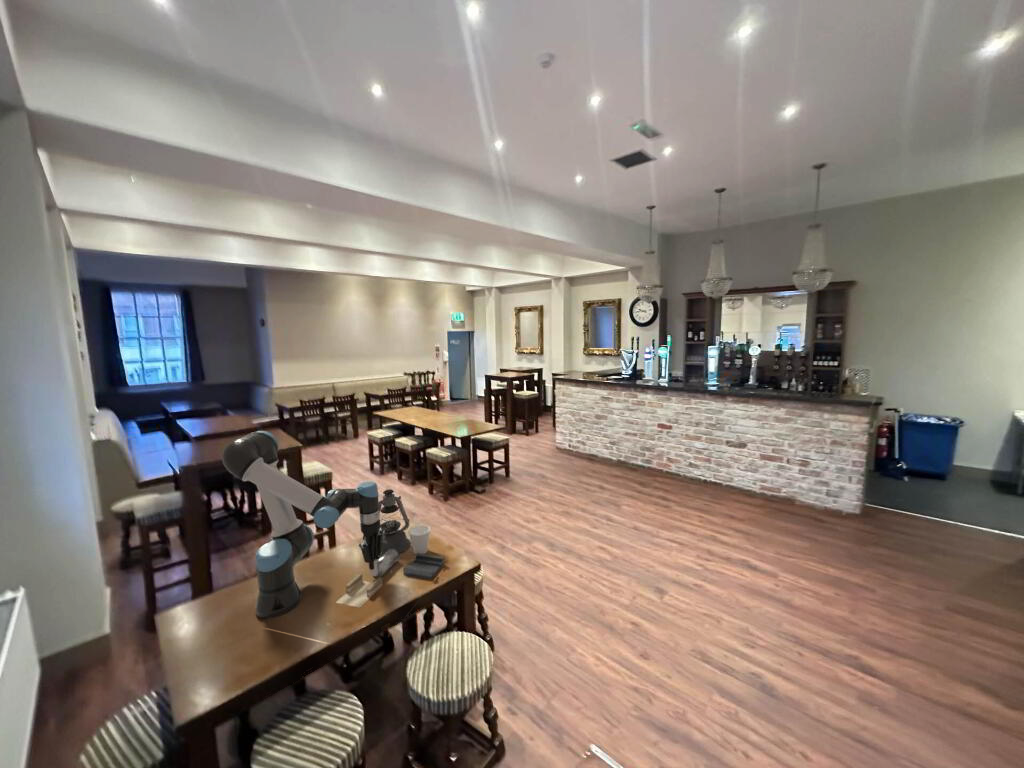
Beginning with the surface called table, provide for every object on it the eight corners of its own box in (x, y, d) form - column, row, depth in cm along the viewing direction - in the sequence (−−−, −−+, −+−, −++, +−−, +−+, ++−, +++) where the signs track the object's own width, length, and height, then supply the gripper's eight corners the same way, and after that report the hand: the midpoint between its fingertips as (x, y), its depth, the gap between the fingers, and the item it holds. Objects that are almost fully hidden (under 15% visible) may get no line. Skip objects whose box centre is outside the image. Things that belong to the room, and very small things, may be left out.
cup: (426, 559, 181) (425, 536, 179) (405, 557, 183) (404, 534, 181) (434, 547, 190) (433, 525, 189) (415, 545, 192) (413, 523, 191)
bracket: (335, 603, 152) (334, 595, 152) (359, 581, 166) (358, 573, 165) (360, 608, 149) (359, 600, 149) (382, 585, 162) (382, 577, 162)
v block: (403, 575, 169) (403, 567, 169) (417, 560, 180) (417, 553, 179) (431, 580, 165) (431, 572, 165) (444, 564, 176) (443, 557, 176)
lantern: (393, 531, 206) (389, 475, 202) (419, 543, 194) (416, 483, 190) (362, 547, 192) (357, 487, 188) (388, 560, 180) (383, 497, 176)
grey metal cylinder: (371, 576, 169) (370, 563, 168) (387, 560, 180) (386, 548, 179) (383, 578, 167) (382, 565, 166) (399, 562, 179) (398, 549, 178)
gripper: (368, 529, 156) (372, 585, 159) (387, 514, 168) (391, 567, 171) (351, 527, 158) (356, 582, 161) (372, 512, 170) (375, 564, 173)
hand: (374, 574), depth 166 cm, fingers closed
